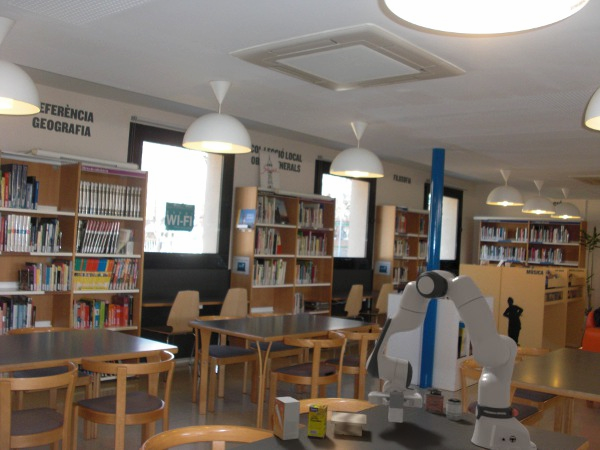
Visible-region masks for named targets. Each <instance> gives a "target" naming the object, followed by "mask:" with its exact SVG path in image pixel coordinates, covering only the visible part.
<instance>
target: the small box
mask: <svg viewBox="0 0 600 450" xmlns="http://www.w3.org/2000/svg"><path fill="white" fill-rule="evenodd" d="M273 413H274V415H273V429H272V430H273V431H272V434H273V435H275V436H276V437H279V439H281V440H283V441H285V440H296V439H299V431H300V430H299V429H300V428H299V427H300V415H301V414H300V413H301V401H299V400H297V399H296V398H293V397H292V396H280V397H275V398H274V412H273Z"/></svg>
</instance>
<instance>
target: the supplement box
mask: <svg viewBox="0 0 600 450" xmlns="http://www.w3.org/2000/svg"><path fill="white" fill-rule="evenodd" d="M328 407H329V405H327V404H321V403H311V404H310V406H309V408H308V421H307V438H308V439H309V438H310V439H317V440H324V439H325V437H326V435H327V424H328V423H327V422H328Z"/></svg>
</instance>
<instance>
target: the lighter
mask: <svg viewBox="0 0 600 450" xmlns="http://www.w3.org/2000/svg"><path fill="white" fill-rule="evenodd" d="M427 391H428V392H425V408H424V411H425V412H427V413H428V412H429V413H432V414H433V413H434V414H439V415H442V414H444V401H445V395H443V394H442V393H443V391H442V390H441V389H439V388H434V387H433V388H432V387H427Z"/></svg>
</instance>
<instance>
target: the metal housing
mask: <svg viewBox="0 0 600 450" xmlns="http://www.w3.org/2000/svg"><path fill="white" fill-rule="evenodd" d="M389 401H390V402H389V406H388V416H387V418H388V422H389V423H390V422H391V423H400V424H401V423H404V422H403V421H404V407H403V403H404V394H403V392H394V391H390V392H389Z"/></svg>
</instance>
